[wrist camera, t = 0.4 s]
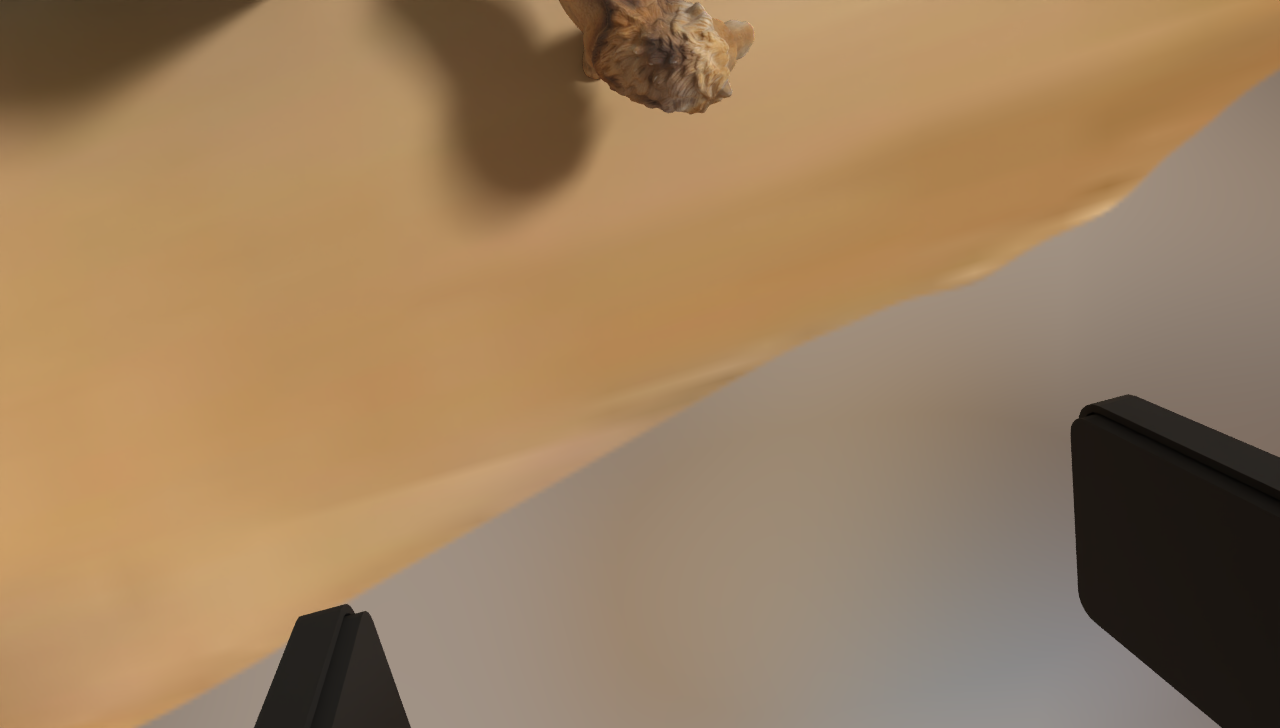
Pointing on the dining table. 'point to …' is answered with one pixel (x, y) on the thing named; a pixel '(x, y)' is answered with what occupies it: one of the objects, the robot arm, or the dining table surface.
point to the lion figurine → (660, 50)
